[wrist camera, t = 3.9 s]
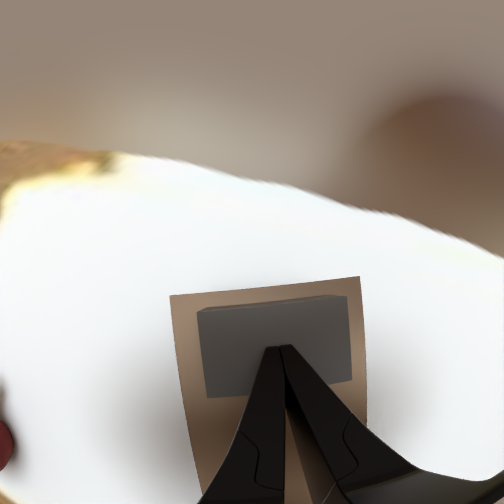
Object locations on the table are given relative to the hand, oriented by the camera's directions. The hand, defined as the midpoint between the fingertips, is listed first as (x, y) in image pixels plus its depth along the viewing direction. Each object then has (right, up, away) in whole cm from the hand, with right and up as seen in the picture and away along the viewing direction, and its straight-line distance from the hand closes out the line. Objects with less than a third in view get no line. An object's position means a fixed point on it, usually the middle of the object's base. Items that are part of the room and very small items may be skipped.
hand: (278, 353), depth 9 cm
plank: (0, -5, +4) cm, 6 cm away
